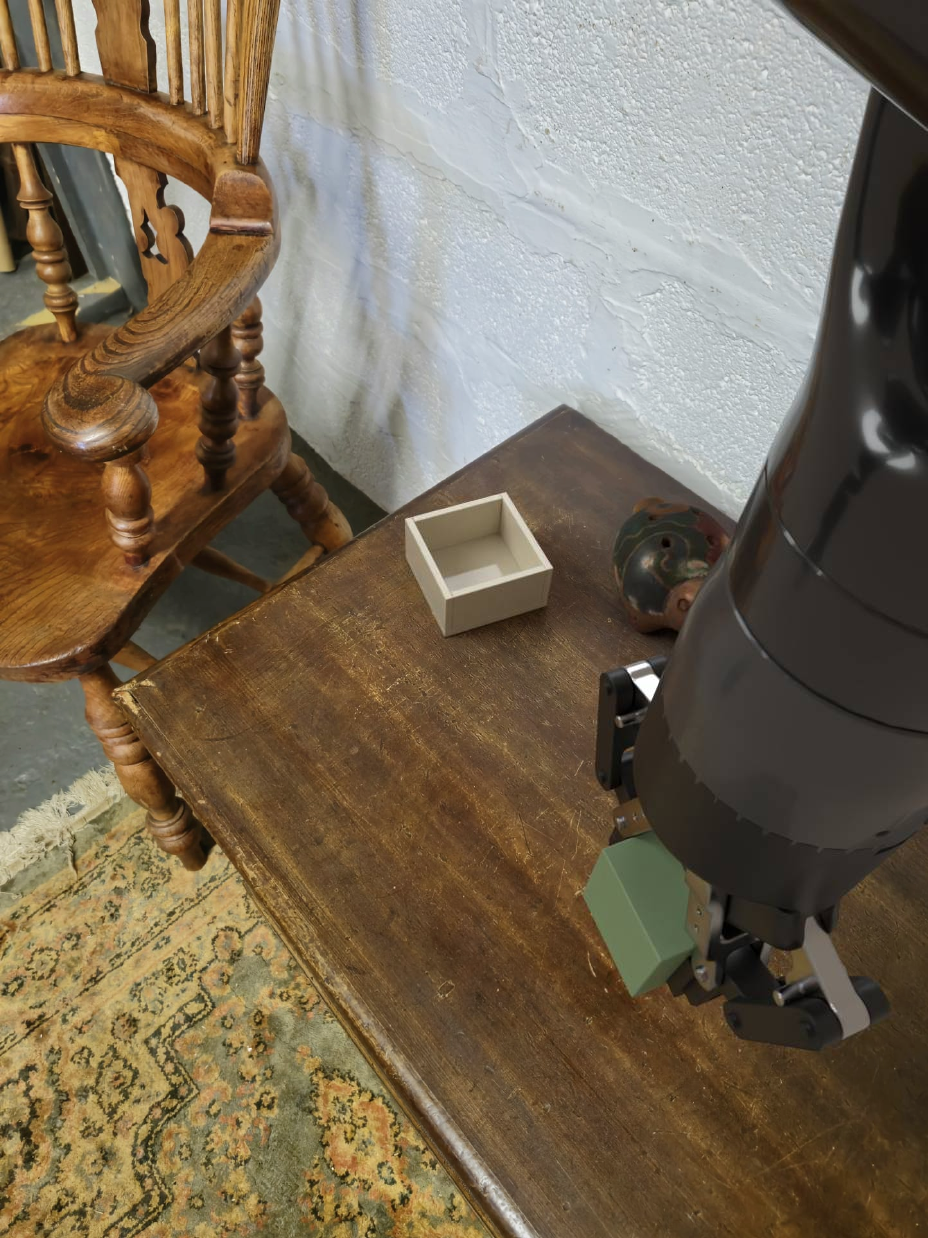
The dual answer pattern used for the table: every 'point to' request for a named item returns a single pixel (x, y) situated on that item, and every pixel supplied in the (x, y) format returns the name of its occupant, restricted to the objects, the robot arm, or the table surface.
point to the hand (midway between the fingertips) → (659, 920)
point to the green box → (641, 910)
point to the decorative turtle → (664, 561)
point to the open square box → (477, 563)
